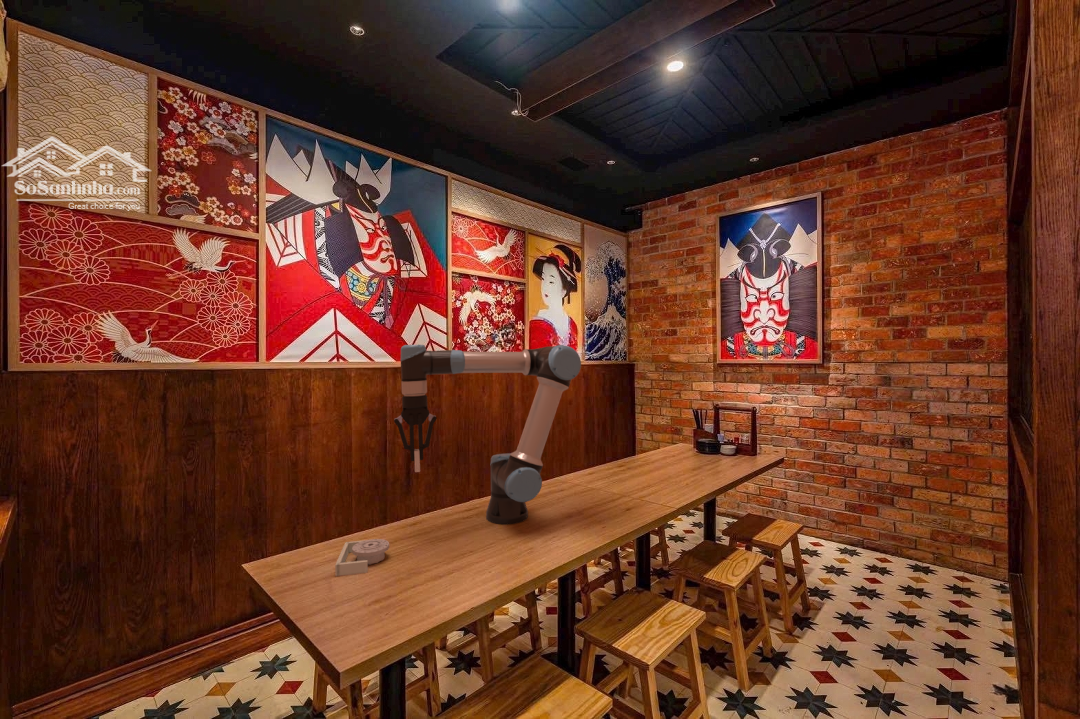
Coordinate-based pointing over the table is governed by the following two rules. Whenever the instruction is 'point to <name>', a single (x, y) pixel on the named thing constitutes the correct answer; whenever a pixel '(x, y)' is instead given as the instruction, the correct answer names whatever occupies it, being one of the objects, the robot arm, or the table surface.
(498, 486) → the robot arm
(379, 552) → the mechanical component
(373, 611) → the table surface
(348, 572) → the u-shaped bracket
